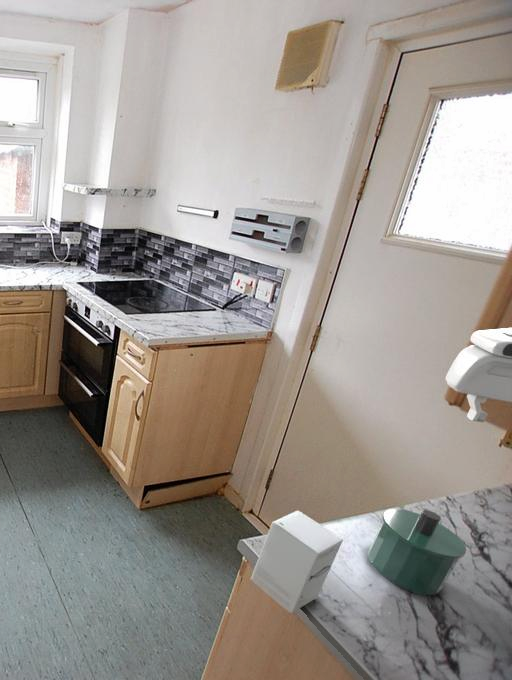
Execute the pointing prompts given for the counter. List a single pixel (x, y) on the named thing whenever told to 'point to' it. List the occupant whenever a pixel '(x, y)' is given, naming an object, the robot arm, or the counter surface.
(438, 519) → the lid
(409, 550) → the tin
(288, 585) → the white packaging box
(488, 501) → the counter surface
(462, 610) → the counter surface
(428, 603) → the counter surface
